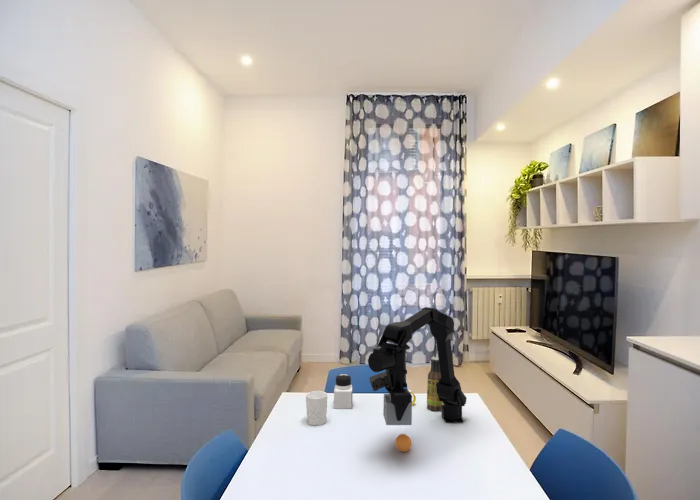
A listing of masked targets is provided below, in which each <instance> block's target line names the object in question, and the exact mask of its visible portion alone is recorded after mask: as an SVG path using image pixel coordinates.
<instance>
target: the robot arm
mask: <svg viewBox="0 0 700 500" xmlns="http://www.w3.org/2000/svg"><path fill="white" fill-rule="evenodd" d="M427 325H428V326H429V331H430V334H431V335H432V337H433V338H434V339H435V341H436V349H437V357H438V359H439V367H440V375H441V378H440V380H439V382H438V383H437V384H436V388H437V394H438V397H439V401H442V402H443V405H442V410H441V417H442V418H443V420H444V422H445V423H448V424H449V423H452V424H453V423H464V419H463V407H465V405H466V404H467V396H466V395H465V394H464V392H463V391H462V387H461V386H462V385H461V383H460V381H459V380H458V379H457V377H456V376H455V369H454V361H453V351H452V342H451V339H452V336H453V334H454V333H455V332H454V331H455V322H454V319H453V317H451V316H449V315H447V314H445V313H443V312H441V311H439V310H438V309H437V308H436V307H427V306H424V307H423V308H421V310H419V311H418V312H416V313H414V314H413V315H411V316H409V317H408V318H406V319H405V320H402V321H396V322H391V323H388V324H387V325H386V326H385V327H384V330H383V333H382V335H381V338H380V339H379V342H378V344H377V347H376V348H375V347H374V348H373V349H372V352H371V353H370V354H369V356H368V358H367V365H368V367H369V368H370V370H371V371H372V372H374V373H376V374H375V375H372V376H369V377H368V379H369V382H370V385H371V388H372V391H373V392H377V391H379V389H382V388H385V390H386V391H387V392H388V394H389V398H390V399H389V400H390V402H391V403H392V404H393V405H394V406H395V412H396V418H397V421H401V419H402V417H403V415H404V412H405V410H406V408H407V406H408V404H409V403H411V402H413V397H412V396H413V394H412V393H410V392H409V391H408V390H409V389H407V388H408V383H407V375H408V370H407V350H410V348H411V346H409V345H408V343H409V342H410V341H411V339H412V338H413V334H414V333H416V332H417V331H419V330H420V329H422V328H423V327H425V326H427ZM377 373H378V374H377Z"/></svg>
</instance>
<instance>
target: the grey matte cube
mask: <svg viewBox="0 0 700 500" xmlns="http://www.w3.org/2000/svg"><path fill="white" fill-rule="evenodd" d="M389 399H390V398H389V393H383V408H382V409H383V413H382V415H383V418H384V421H385V425H386V426H412V425H413V423H412V421H413V419H412V418H413V405H412V402H413V401H412V402H411V403H409V404H408V406H407V408H406V410H405V412H404V415H403V417H402V419H401V421H397V418H396V412H395V406H394V405H393V404H392V403H391V402H390V400H389Z"/></svg>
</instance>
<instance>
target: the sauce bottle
mask: <svg viewBox="0 0 700 500" xmlns="http://www.w3.org/2000/svg"><path fill="white" fill-rule="evenodd" d="M440 378H441V375H440V367H439V359H438V356H436V357H435V356H434V357H431V358H430V370H429V372H428V374H427V379H426V380H427V382H426V384H427V386H426V408H427V409H428V410H430V411H433V412H439V411H442V405H443V402H442V401H439V397H438V394H437V388H436V384H437V383H438V382H439V380H440Z"/></svg>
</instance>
